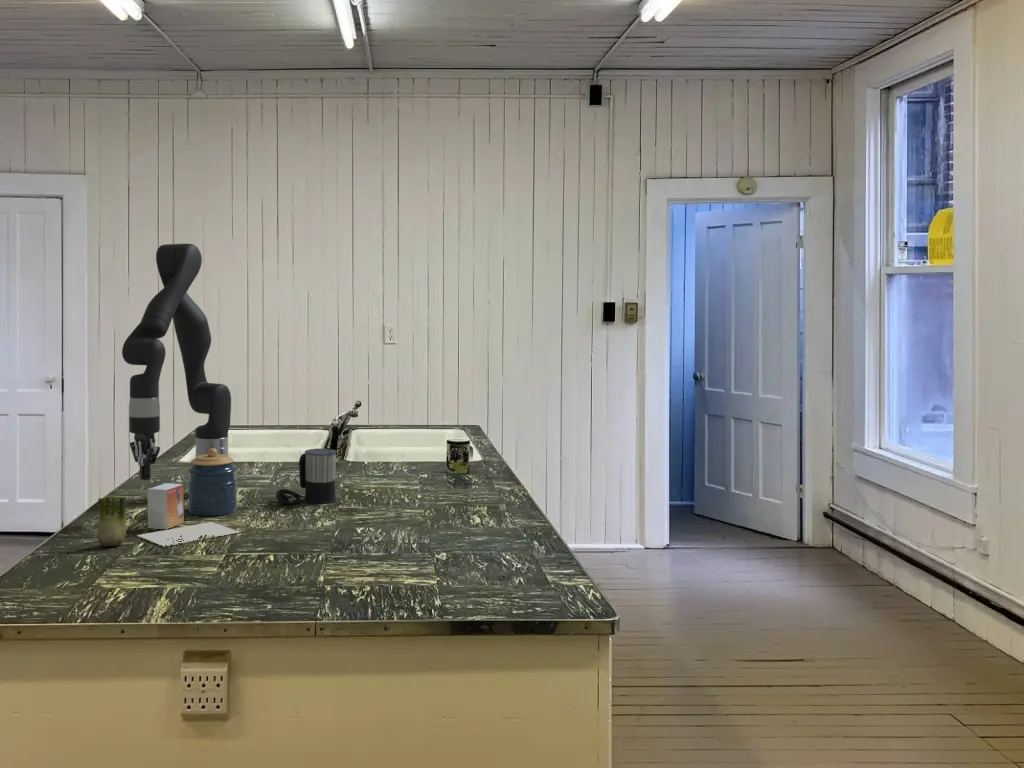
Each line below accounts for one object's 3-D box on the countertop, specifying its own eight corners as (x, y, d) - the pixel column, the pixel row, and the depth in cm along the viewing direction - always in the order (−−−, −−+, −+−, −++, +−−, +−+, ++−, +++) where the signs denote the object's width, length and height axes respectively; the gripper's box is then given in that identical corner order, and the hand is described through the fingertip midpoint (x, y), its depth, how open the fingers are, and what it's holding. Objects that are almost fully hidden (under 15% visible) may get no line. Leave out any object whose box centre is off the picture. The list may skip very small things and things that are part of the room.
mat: (211, 523, 242) (211, 521, 242) (240, 533, 232) (240, 531, 232) (137, 536, 227) (137, 535, 227) (164, 548, 218) (164, 546, 218)
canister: (191, 518, 246) (191, 453, 245) (184, 508, 258) (183, 445, 256) (241, 514, 252) (241, 450, 251) (232, 504, 264) (232, 443, 262)
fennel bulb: (128, 543, 221) (127, 494, 220) (120, 549, 216) (119, 498, 215) (103, 543, 221) (102, 493, 220) (95, 548, 216) (93, 498, 215)
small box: (167, 531, 233) (166, 490, 232) (147, 529, 235) (146, 488, 234) (184, 523, 241) (184, 483, 240) (165, 522, 242) (164, 482, 241)
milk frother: (342, 499, 273) (343, 450, 272) (309, 510, 259) (309, 458, 258) (304, 494, 279) (304, 445, 278) (269, 504, 265) (269, 453, 264)
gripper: (170, 415, 241) (170, 481, 242) (146, 411, 250) (147, 474, 251) (142, 417, 236) (142, 485, 237) (119, 412, 245) (119, 477, 246)
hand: (144, 479), depth 244 cm, fingers closed
